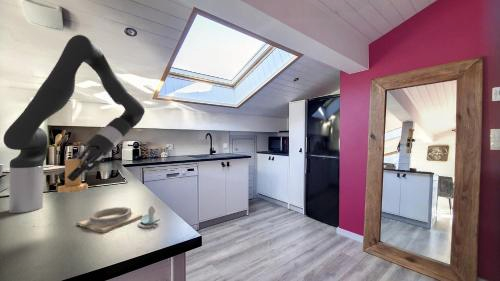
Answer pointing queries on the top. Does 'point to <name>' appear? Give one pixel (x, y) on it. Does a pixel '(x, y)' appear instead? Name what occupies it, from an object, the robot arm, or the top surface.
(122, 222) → the carrier plate
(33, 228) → the top surface
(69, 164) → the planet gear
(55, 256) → the top surface
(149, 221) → the pacifier
